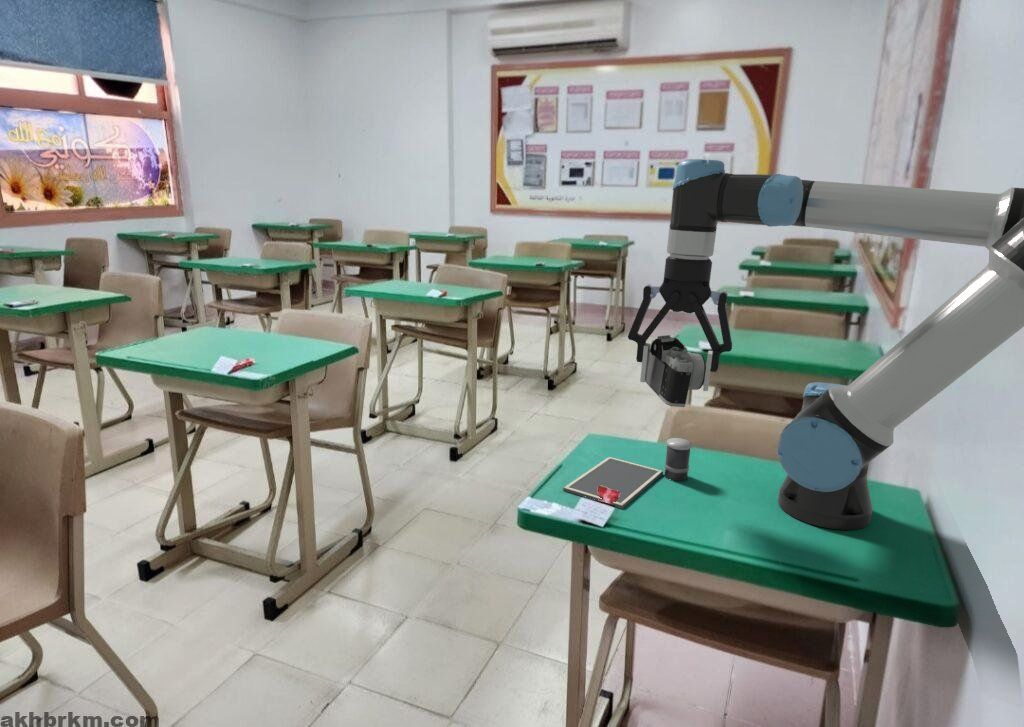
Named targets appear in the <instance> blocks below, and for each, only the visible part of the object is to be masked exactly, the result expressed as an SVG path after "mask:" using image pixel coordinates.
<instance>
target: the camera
mask: <svg viewBox="0 0 1024 727" xmlns="http://www.w3.org/2000/svg"><path fill="white" fill-rule="evenodd" d="M705 359H706V358H704V355H702V354H700V353H694V352H690V351H688V348H687V347H686V346H685V345H684V343H683V342H681V340H680V339H678V338H677V337H676V336H675V337H672V336H671V335H670V334H666V335H659V336H657V338H655V339H654V340H651V343H650V352H649V362H648V371H647V379H646V381H645V382H644V383H646V385H647V386H649V388H650V389H651V390H652V391H653V392H654V394H656V395H657V396H658V397H659V398H660V400H661V401H662V402H663V403H664V404H665V405H667V406H670V407H677V408H678V407H679V408H685V407H686V402H687V398H688V393H689V390H691V391H693V390H694V391H698V390H700V389H701V388H702V387H703V386H704V379H705V371H706V364H707V362H706V360H705Z"/></svg>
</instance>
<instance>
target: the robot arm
mask: <svg viewBox="0 0 1024 727" xmlns="http://www.w3.org/2000/svg"><path fill="white" fill-rule="evenodd" d="M675 172H676V173H675V178H674V184H673V187H672V197H671V198H672V201H671V209H670V210H671V211H670V212H671V213H670V222H669V229H668V238H667V247H666V252H667V254H669V256H667V258H665V262H664V263H665V265H664V274H663V280H662V284H661V285H651V284H647V285H645V286H644V287H643V291H642V301H641V303H640V305H639V308H638V310H637V313H636V316H635V318H634V321H633V323H632V324H631V328H630V329H629V331H628V335H627V339H628V340H630V341H632V342H633V341H634V343H636V344H637V347H636V348H637V349H636V362H637V363H641V370H640V380H639V382H640V383H646V382H645V381H646V379H647V371H648V362H649V352H650V344H651V343H648V342H647V341H648V340H649V338H650V336H652V334H653V332H654V331H655V330H656V329H657V327H658V326H659V325H660V323H661V322H662V321H663V320H664V318H665V317H666V316H667V314H668V313H669V311H672V312H673V313H674V312H675V313H679V312H684V313H686V314H693V313H694V316H696V318H697V320H698V323H699V325H700V327H701V328H702V330H703V333H704V336H705V337H706V340H707V342H708V344H709V346H710V349H711V350H708V351H707V355H706V356H707V358H706V371H705V379H704V383H703V386H702V387H703V388H702V391H703V392H708V391H709V385H710V378H711V373H717V372H718V371H719V364H720V357H721V354H722V353H725V352H727V353H729V352H731V351H732V349H733V342H732V340H733V339H732V334H731V330H730V323H729V317H728V312H727V299H728V292H727V291H724V290H723V291H721V292H720V291H714V290H712V289H711V287H710V284H711V275H712V268H713V267H712V266H713V261H712V260H711V259H710V257H712V256H713V255H714V251H715V244H716V235H717V230H718V229H717V228H718V227H717V226H718V222H721V223H732V224H733V223H734V224H735V223H736V224H744V225H757V226H759V225H760V226H767V227H771V228H772V227H788V226H789V227H790V226H793V227H804V228H805V227H806V228H814V229H815V228H816V229H823V230H824V229H825V230H832V231H840V232H850V233H860V234H868V235H869V234H870V235H875V236H876V235H878V236H886V237H887V236H888V237H895V238H904V239H913V240H923V241H932V242H939V243H940V242H941V243H950V244H957V245H966V246H967V245H968V246H973V247H974V246H977V247H985V248H986V249H987V250H988V262H987V265H986V266H985V267H984V268H983V269H982V270H981V271H979V272H978V273H977V274H976V275H974V276H973V277H972V278H971V279H970V280H969V281H968V282H966V283H965V284H964V285H963V286H961V288H959V289H958V290H957V291H956V292H955V293H954V294H953V295H952V296H951V297H949V298H948V299H947V300H945V301H944V302H943V303H942V304H941V305H940V306H939V307H937V309H935V310H934V311H933V312H932V313H931V314H930V315H928V316H927V317H926V318H925V319H924V320H923V321H922V322H920V323H919V324H918V325H917V326H915V327H914V328H913V329H912V330H911V331H910V332H909V333H907V334H906V336H904V337H902V339H900V340H899V342H897V343H895V345H894V346H893V347H891V348H890V349H889V350H888V351H886V352H885V354H883V355H882V356H881V357H880V358H879V359H878V360H876V361H875V362H874V363H872V365H871V366H869V367H868V368H867V369H865V371H863V373H861V374H860V375H859V376H858V377H856V378H855V379H854V380H853V381H852V382H851V383H850V384H848V385H847V384H846V385H845V384H839V383H833V382H831V383H830V382H820V381H819V382H815V381H814V382H811V383H810V382H809V383H808V384H807V385H805V388H804V391H803V392H804V393H803V394H802V398H803V401H802V406H801V409H800V411H799V412H798V413H797V415H796V416H795V417H794V418H793V419H792V421H791V422H790V423H788V424H787V425H786V426H785V427H784V428H783V430H782V432H781V433H780V437H779V440H778V443H777V444H778V445H777V456H778V460H779V463H780V465H781V467H782V469H783V470H784V472H785V473H786V474H787V475H786V476H785V479H784V481H783V482H782V483H781V486H780V488H779V490H778V498H777V504H778V505H779V507H780V508H781V509H782V510H783V511H784V512H785V513H787V515H790V516H792V517H793V518H795V519H797V520H800V521H801V522H805V523H807V524H810V525H814V526H818V527H820V528H825V529H830V530H831V529H832V530H842V531H843V530H844V531H847V530H848V531H852V530H853V531H854V530H859V529H862V528H865V527H867V526H869V525H870V523H871V520H872V515H873V504H872V499H871V494H870V489H869V482H868V478H867V477H868V471H869V466H870V462H871V461H873V460H874V459H876V457H878V456H879V455H881V453H883V452H884V451H886V450H887V449H888V448H889V447H891V446H892V445H893V444H894V431H895V428H897V427H899V425H900V424H902V423H903V422H904V421H906V420H907V419H908V418H910V417H911V416H912V415H914V413H916V412H917V411H919V410H920V409H921V408H922V407H924V405H926V404H928V403H929V402H930V401H931V400H932V399H934V398H935V397H936V396H937V395H939V394H940V393H942V392H943V391H944V390H945V389H946V388H948V387H949V386H950V385H951V384H953V383H954V382H955V381H957V380H958V379H959V378H960V377H962V376H963V375H964V374H966V373H967V372H969V371H970V369H972V368H973V367H974V366H975V365H977V364H978V363H979V362H981V361H982V360H984V359H985V358H986V357H987V356H988V355H990V354H991V353H992V352H994V351H995V350H996V349H997V348H999V347H1000V346H1001V345H1003V343H1005V342H1006V341H1008V340H1009V339H1010V338H1011V337H1013V336H1014V335H1016V334H1017V333H1018V332H1019V331H1020V330H1022V329H1023V328H1024V187H1010V188H1008V189H1006V190H1005V191H1004V192H1000V193H991V192H977V191H966V190H965V191H964V190H962V191H961V190H949V189H936V188H922V187H921V188H920V187H919V188H918V187H905V186H894V185H893V186H891V185H878V184H865V183H854V182H853V183H852V182H851V183H850V182H838V181H837V182H834V181H824V180H823V181H821V180H809V179H808V180H807V179H801V178H800V177H799V176H797V175H787V174H780V173H775V174H763V173H762V174H761V173H760V174H756V173H755V174H753V173H752V174H750V173H749V174H745V173H744V174H741V173H735V174H734V173H727V172H726V170H725V163H724V162H723V161H722V160H719V159H702V158H700V159H699V158H691V159H690V158H689V159H688V158H687V159H683V160H681V161H679V163H678V164H677V167H676V171H675ZM657 294H660V295H661V298H662V299H663V301H664V302H665V304H664V305H663V306H662V307H661V309H660V310H659V312H657V314H656V316H655V317H654V318H653V320H652V321H651V322H650V324H649V325H648V326H647V327H646V329H645V330H644V332H643V333H642V334H640V333H639V331H640V328H641V326H642V324H643V321H644V319H645V317H646V314H647V312H648V309H649V306H650V305H651V302H652V299H654V298H656V296H657ZM710 298H711V299H712V300H713V304H714V305H715V306H717V313H718V320H719V326H720V331H721V339H722V342H723V343H720V342H719V340H718V338H717V336H716V333H715V331H714V329H713V327H712V325H711V323H710V320H709V318H708V316H707V313H706V310H705V308H704V306H703V305H704V304H705V303H707V301H708V300H709V299H710Z"/></svg>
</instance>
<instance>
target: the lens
mask: <svg viewBox="0 0 1024 727" xmlns="http://www.w3.org/2000/svg"><path fill="white" fill-rule="evenodd" d="M692 445H693V444H692V442H691V440H690V441H689V440H688V439H685V438H680V437H672V438H668V439H667V440H666V456H665V457H666V458H665V463H664V475H665V476H664V478H666V477H667V478H668V479H667V478H666V479H667V480H669V479H671V480H670V481H672V480H673V482H678V481H680V482H685V481H687V480H688V474H689V471H690V470H689V469H690V458H691V456H690V455H691V449H692ZM686 479H687V480H686ZM684 480H685V481H684Z"/></svg>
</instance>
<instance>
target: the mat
mask: <svg viewBox="0 0 1024 727" xmlns="http://www.w3.org/2000/svg"><path fill="white" fill-rule="evenodd" d="M662 474H664V471H663V470H660V469H656V468H652V467H649V466H645V465H643V464H642V465H641V464H639V463H638V464H637V463H634V462H631V461H626V460H622V459H619V458H615V457H611V456H608V457H607V458H604V460H602V461H601V462H599V463H598V464H596V465H595V466H593V467H592V468H590V469H589V470H588V471H586V472H584V473H583V474H581V475H579V476H578V477H577V478H575V479H574V480H572V481H570V482H569V483H568V484H567V485H566V486H564V487H563V489H562V490H563V492H566V493H569V494H572V495H576V496H580V497H582V496H586V497H588V498H591V499H590V500H592V499H595V500H598V499H599V500H601V499H602V498H600V497H599V496H598V493H597V487H598V486H600V485H603V486H606V487H608V488H610V489H614V490H618V491H620V493H621V494H620V497H619V499H618V500H617V501H616V502H613V503H614V504H615V505H614V506H615V508H618V509H621V510H623V509H624V508H626V507H627V506H628V505H629V504H630V503H631V502H633V501H634V500H635V499H636V498H637V497H638V496H640V495H641V494H642V493H643V492H644V491H645V490H646V489H647V488H649V486H651V485H652V484H653V483H654V482H656V481H657V480H658V479H659V478H661V477H662V476H663V475H662ZM588 498H587V499H588ZM595 500H594V501H595ZM614 506H613V507H614Z"/></svg>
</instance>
